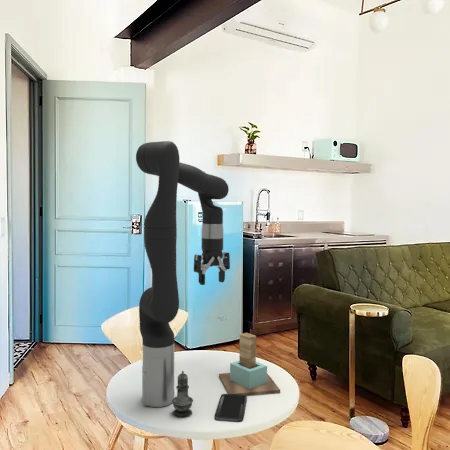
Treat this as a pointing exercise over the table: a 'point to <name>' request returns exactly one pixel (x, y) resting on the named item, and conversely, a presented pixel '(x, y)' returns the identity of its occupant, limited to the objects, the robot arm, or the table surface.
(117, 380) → the table surface
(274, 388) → the base plate
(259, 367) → the teal open box
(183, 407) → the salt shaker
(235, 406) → the phone
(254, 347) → the tall wooden block
